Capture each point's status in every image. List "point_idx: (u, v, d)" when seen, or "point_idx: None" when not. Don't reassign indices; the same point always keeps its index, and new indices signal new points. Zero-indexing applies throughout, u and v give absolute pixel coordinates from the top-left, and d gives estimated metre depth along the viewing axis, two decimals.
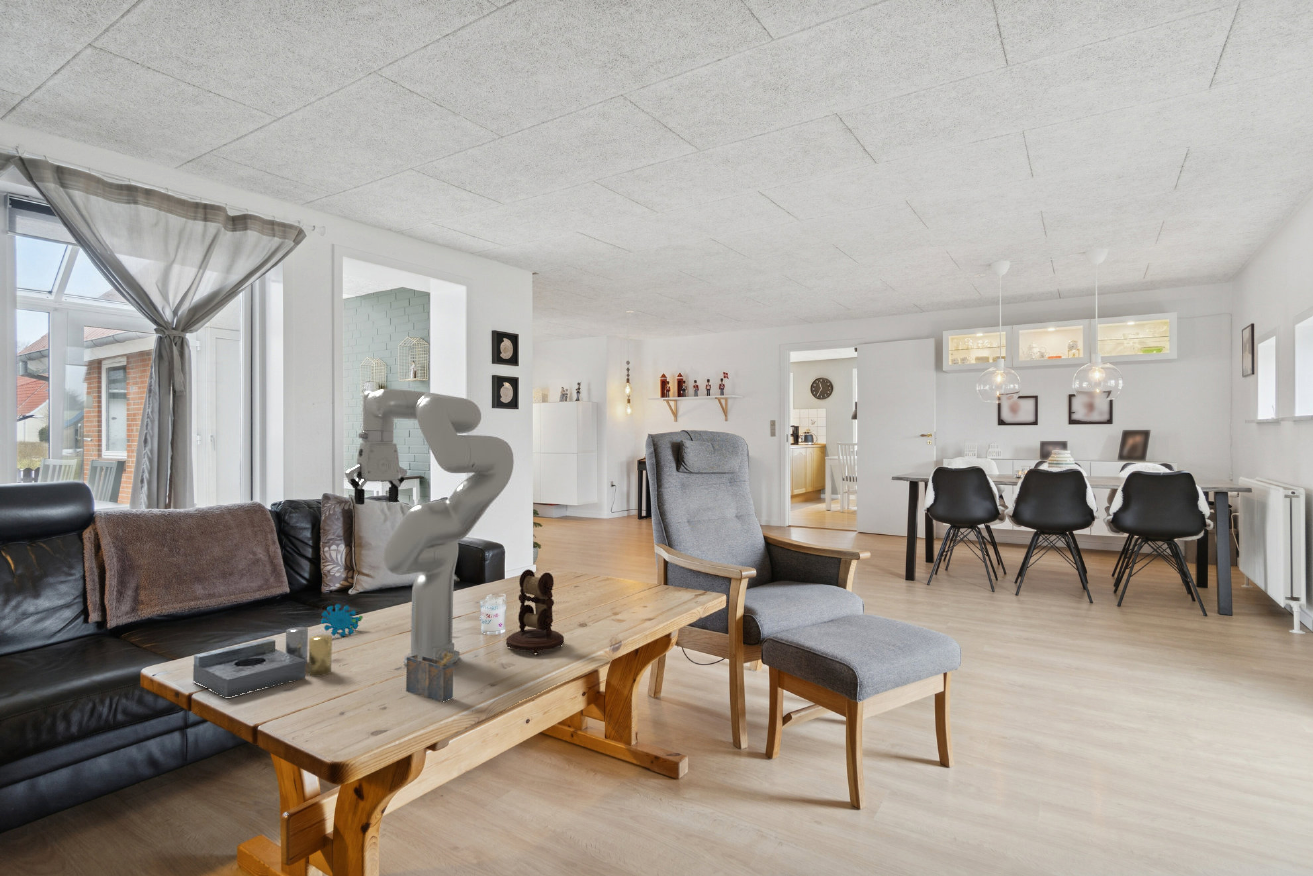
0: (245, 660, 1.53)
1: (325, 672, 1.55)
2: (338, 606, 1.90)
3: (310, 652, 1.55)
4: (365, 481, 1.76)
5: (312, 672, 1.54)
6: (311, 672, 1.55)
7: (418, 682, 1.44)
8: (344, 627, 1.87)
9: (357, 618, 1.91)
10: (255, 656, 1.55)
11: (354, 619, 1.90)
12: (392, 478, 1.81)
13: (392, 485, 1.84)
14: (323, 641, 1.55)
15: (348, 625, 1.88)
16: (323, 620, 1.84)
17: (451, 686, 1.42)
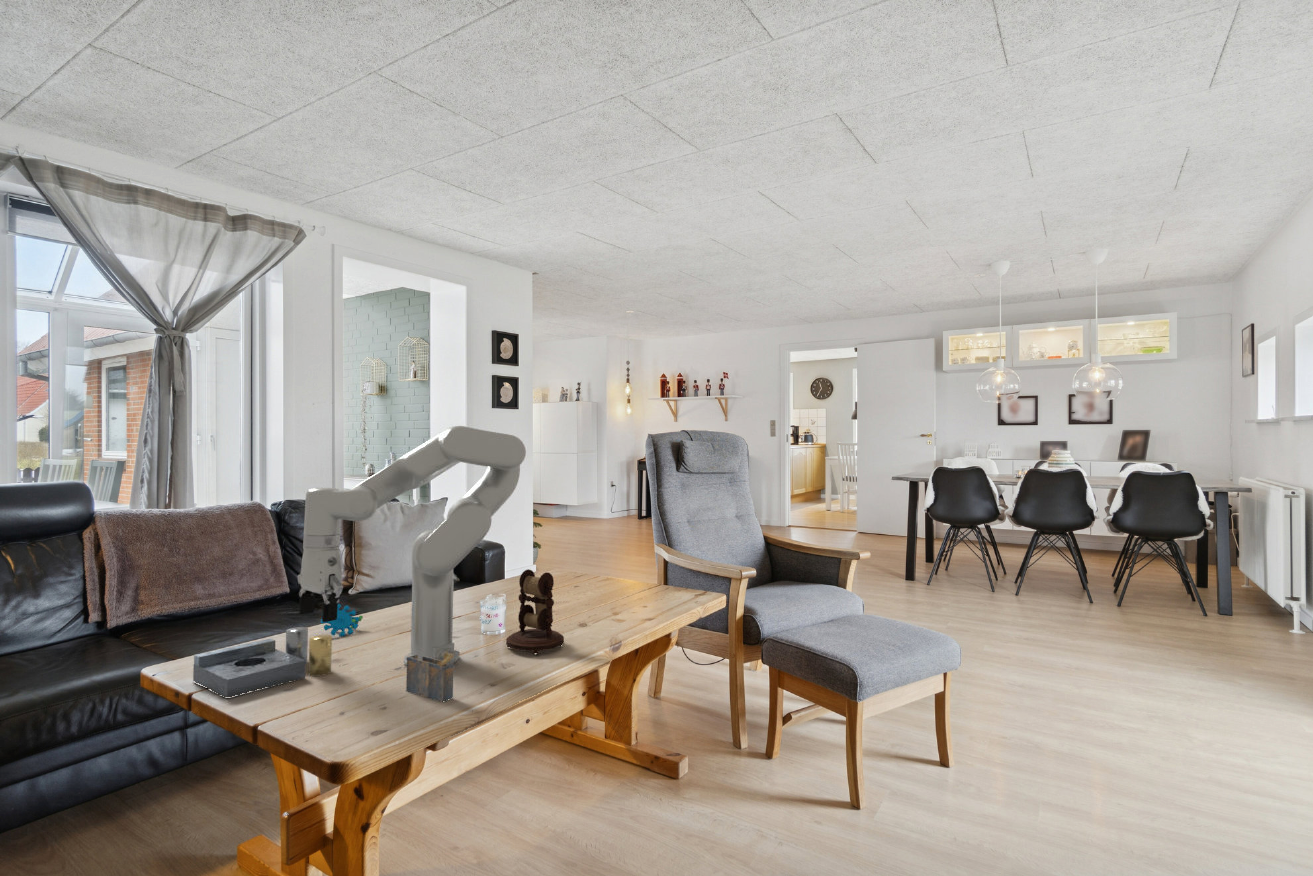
0: (245, 660, 1.53)
1: (325, 672, 1.55)
2: (338, 606, 1.90)
3: (310, 652, 1.55)
4: None
5: (312, 672, 1.54)
6: (311, 672, 1.55)
7: (418, 682, 1.44)
8: (344, 627, 1.87)
9: (357, 618, 1.91)
10: (255, 656, 1.55)
11: (354, 619, 1.90)
12: None
13: (307, 594, 1.59)
14: (323, 641, 1.55)
15: (348, 624, 1.88)
16: None
17: (451, 686, 1.42)
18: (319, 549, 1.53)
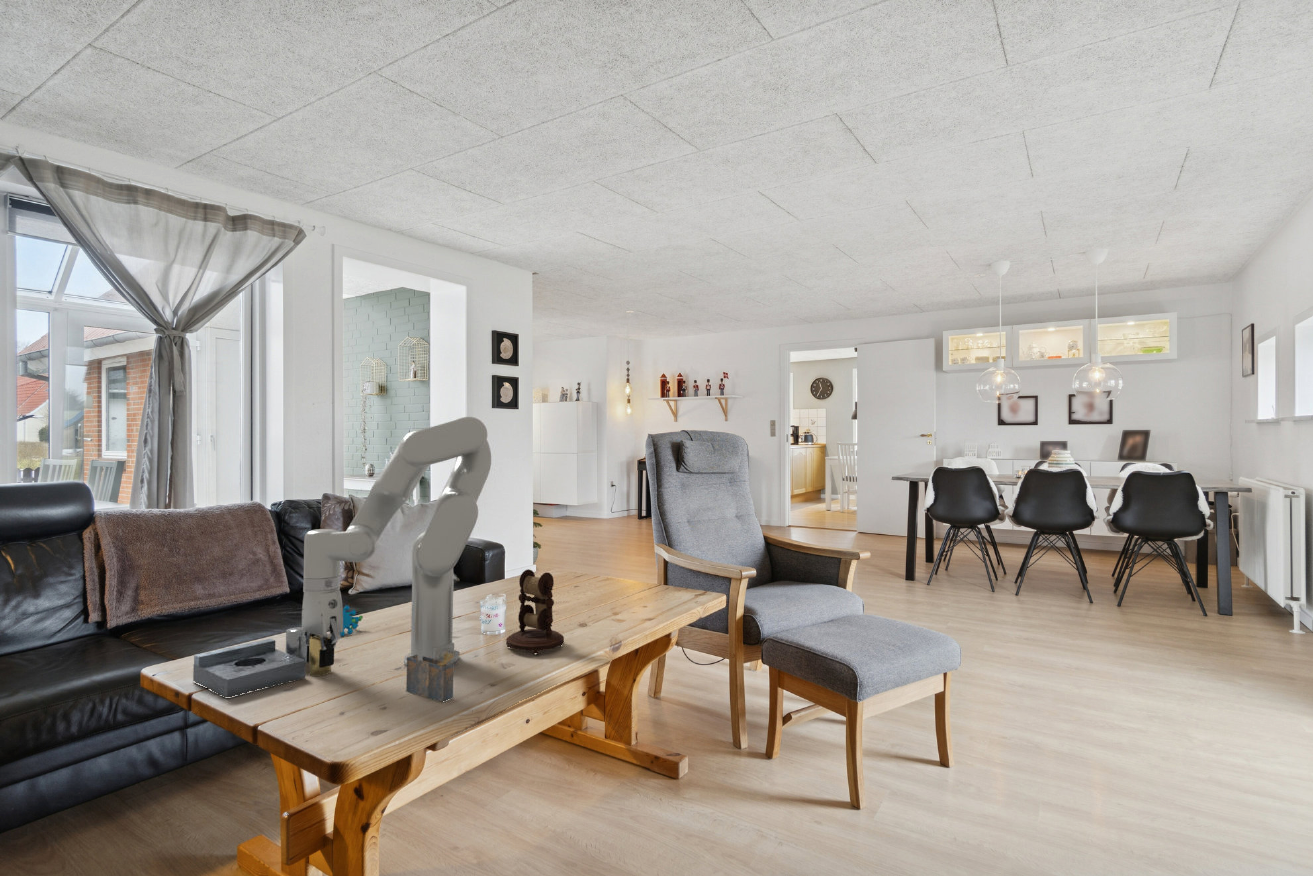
0: (245, 660, 1.53)
1: (325, 672, 1.55)
2: None
3: (310, 652, 1.55)
4: None
5: (312, 672, 1.54)
6: (311, 672, 1.55)
7: (418, 682, 1.44)
8: (343, 627, 1.87)
9: (357, 618, 1.91)
10: (255, 656, 1.55)
11: (354, 619, 1.90)
12: None
13: None
14: None
15: (348, 624, 1.88)
16: None
17: (451, 686, 1.42)
18: (319, 592, 1.53)
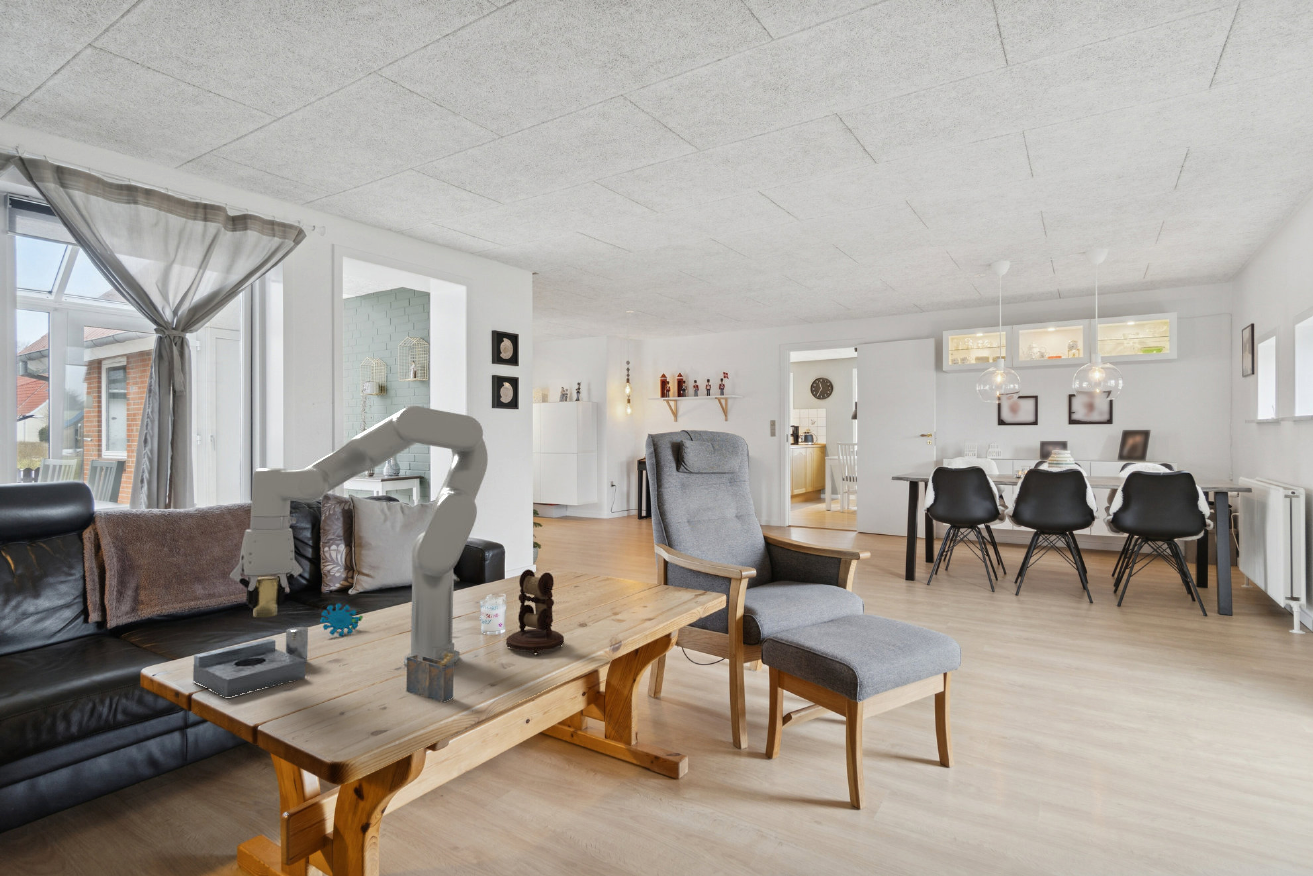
0: (245, 660, 1.53)
1: None
2: (338, 605, 1.91)
3: (268, 593, 1.50)
4: None
5: (272, 612, 1.51)
6: (270, 613, 1.51)
7: (418, 682, 1.44)
8: (343, 627, 1.87)
9: (357, 618, 1.91)
10: (255, 656, 1.55)
11: (354, 619, 1.90)
12: None
13: None
14: (278, 579, 1.53)
15: (348, 624, 1.88)
16: (322, 619, 1.85)
17: (451, 686, 1.42)
18: (287, 529, 1.53)
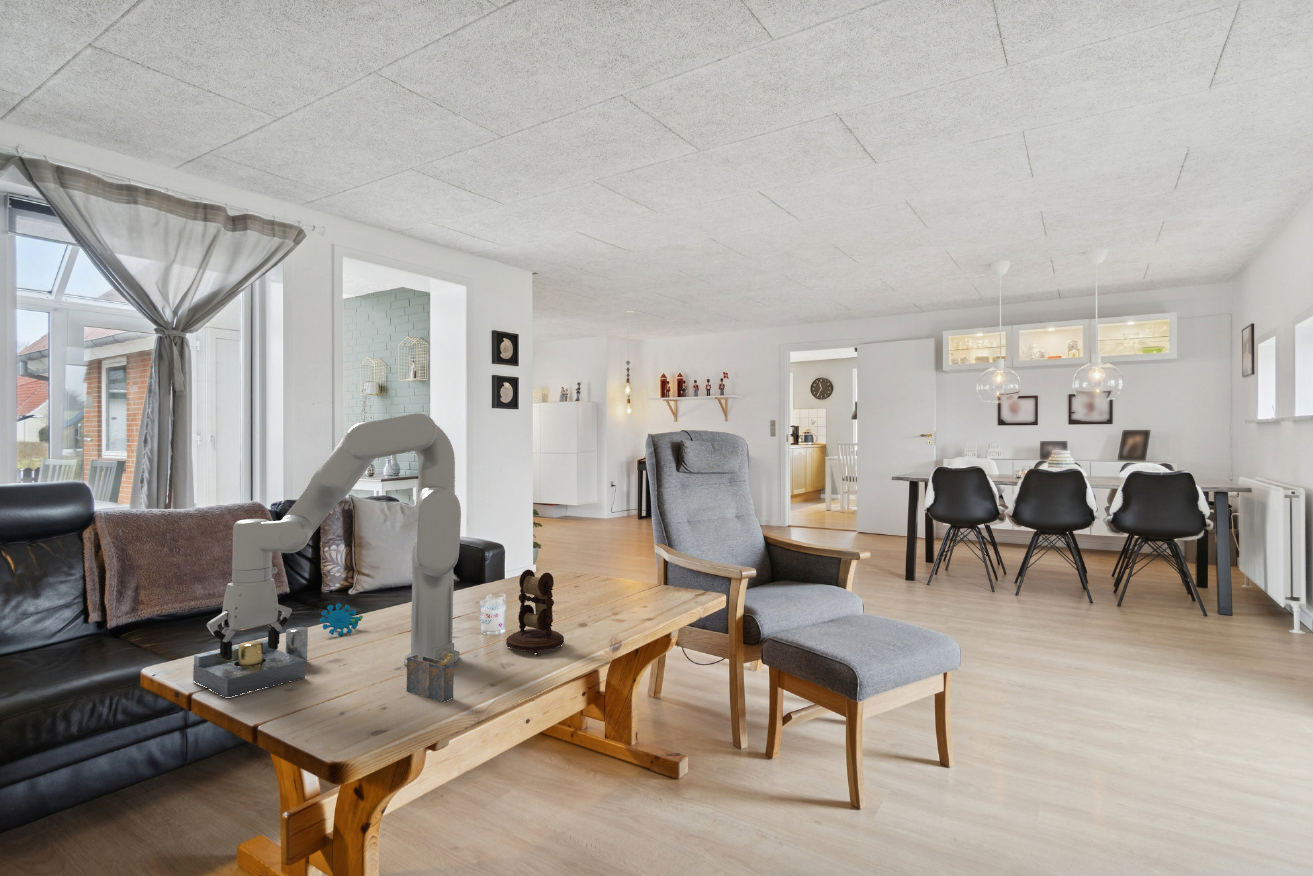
0: None
1: None
2: (339, 605, 1.91)
3: (255, 659, 1.49)
4: None
5: None
6: None
7: (418, 682, 1.44)
8: (342, 626, 1.87)
9: (357, 618, 1.91)
10: None
11: (354, 619, 1.91)
12: None
13: None
14: None
15: (347, 624, 1.88)
16: (322, 619, 1.86)
17: (451, 686, 1.42)
18: (271, 580, 1.52)
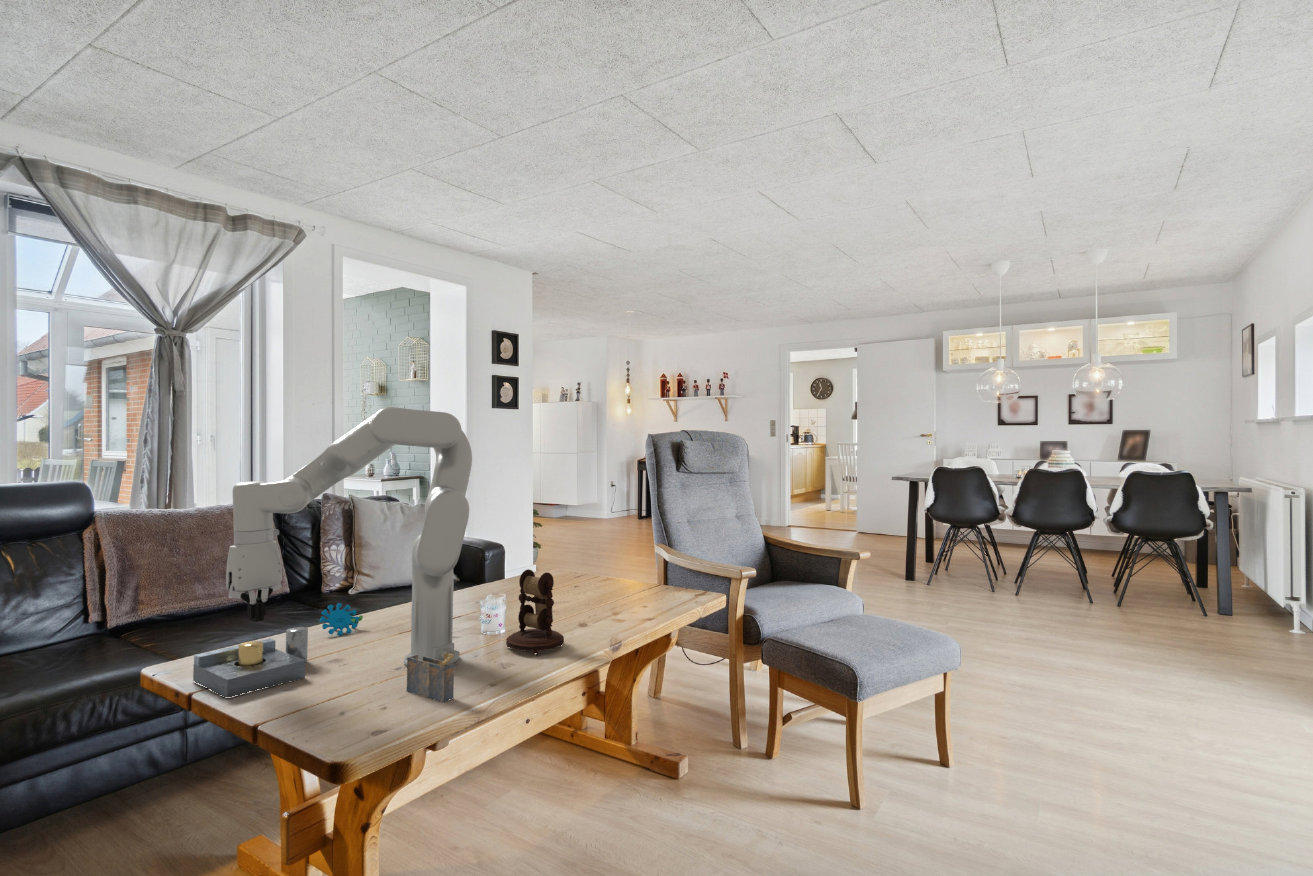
0: None
1: None
2: (339, 605, 1.91)
3: (255, 659, 1.49)
4: None
5: None
6: None
7: (419, 682, 1.44)
8: (342, 626, 1.87)
9: (357, 618, 1.91)
10: None
11: (354, 618, 1.91)
12: None
13: None
14: None
15: (347, 624, 1.89)
16: (321, 619, 1.86)
17: (452, 686, 1.42)
18: (273, 541, 1.52)
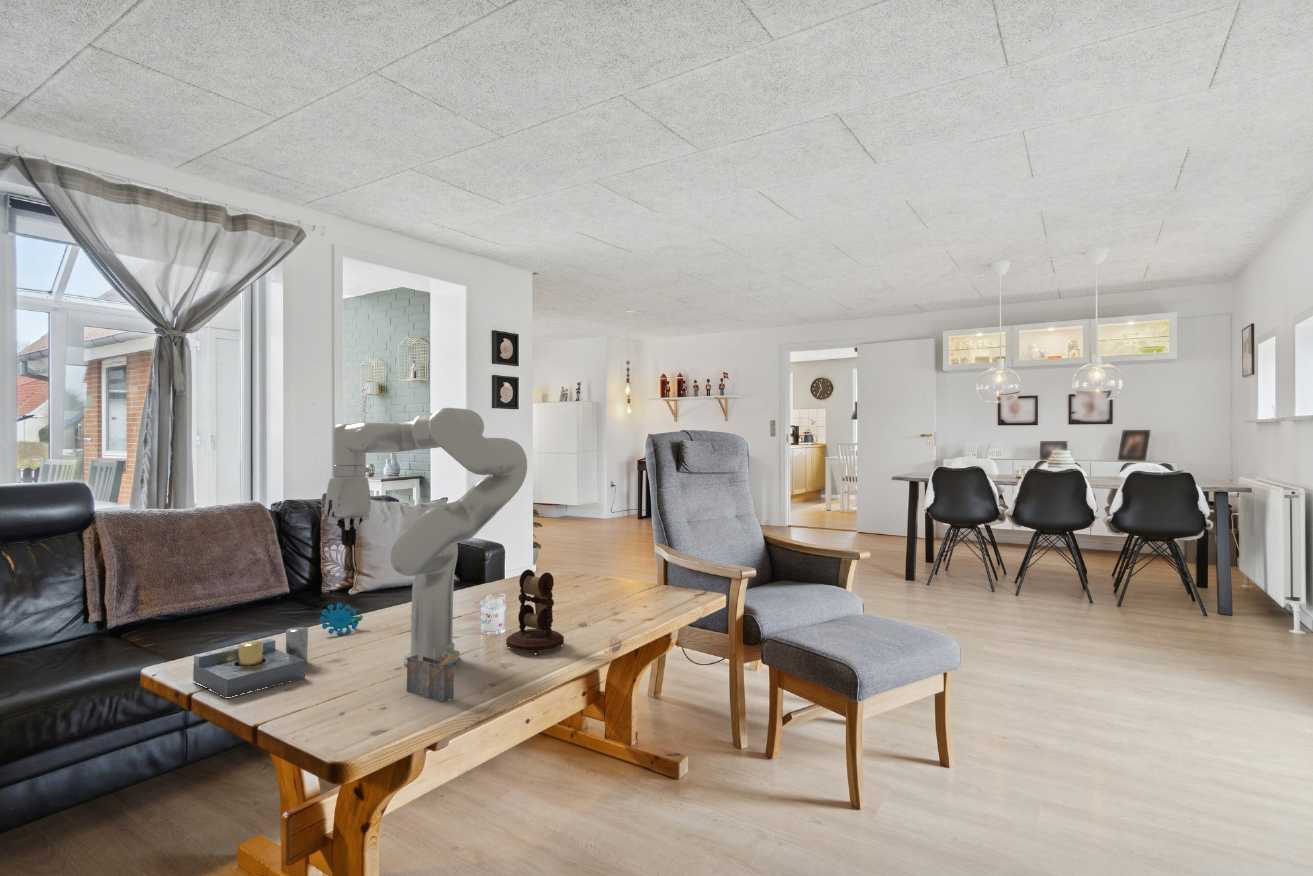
0: None
1: None
2: (339, 605, 1.92)
3: (255, 659, 1.49)
4: None
5: None
6: None
7: (419, 682, 1.44)
8: (342, 626, 1.88)
9: (357, 617, 1.92)
10: None
11: (354, 618, 1.91)
12: None
13: None
14: None
15: (347, 624, 1.89)
16: (321, 618, 1.86)
17: (452, 686, 1.42)
18: (365, 476, 1.75)
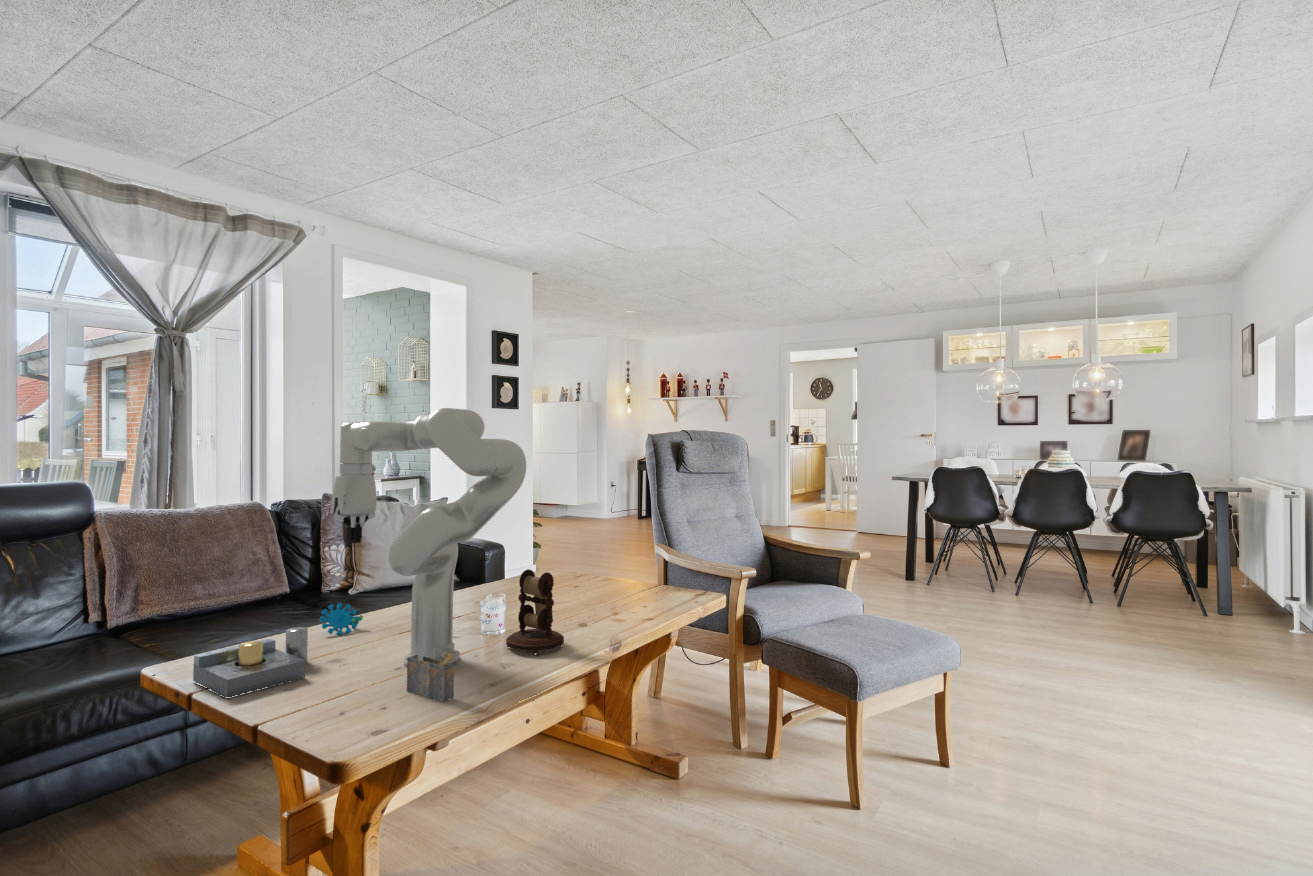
0: None
1: None
2: (339, 605, 1.92)
3: (255, 659, 1.49)
4: None
5: None
6: None
7: (419, 682, 1.44)
8: (342, 626, 1.88)
9: (357, 617, 1.92)
10: None
11: (354, 618, 1.91)
12: None
13: None
14: None
15: (347, 624, 1.89)
16: (321, 618, 1.86)
17: (452, 686, 1.42)
18: (371, 475, 1.76)
